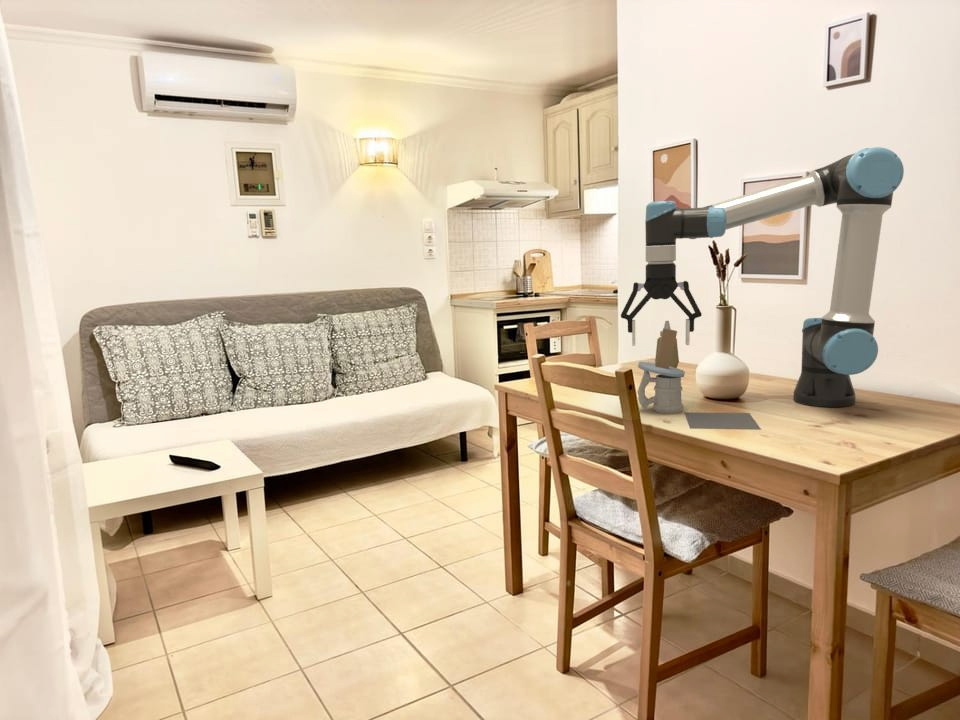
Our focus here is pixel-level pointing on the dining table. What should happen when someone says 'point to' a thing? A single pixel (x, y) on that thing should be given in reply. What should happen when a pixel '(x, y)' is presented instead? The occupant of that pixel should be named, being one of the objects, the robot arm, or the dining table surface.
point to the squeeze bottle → (674, 357)
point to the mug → (662, 393)
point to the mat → (721, 421)
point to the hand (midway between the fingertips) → (660, 344)
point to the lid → (664, 357)
